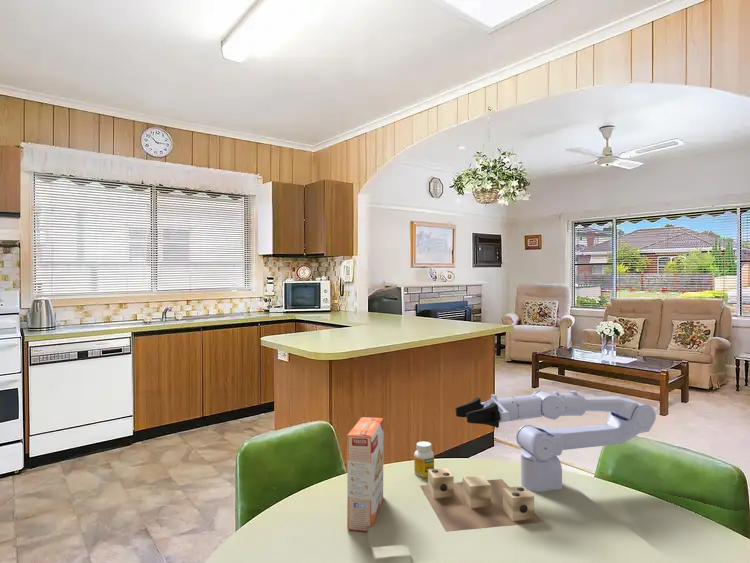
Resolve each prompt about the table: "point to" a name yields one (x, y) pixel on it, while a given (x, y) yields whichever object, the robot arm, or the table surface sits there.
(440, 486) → the pip cube
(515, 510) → the pip cube 2
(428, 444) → the supplement bottle
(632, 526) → the table surface
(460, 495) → the walnut board
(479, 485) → the blank cube
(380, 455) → the cracker box
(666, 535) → the table surface
